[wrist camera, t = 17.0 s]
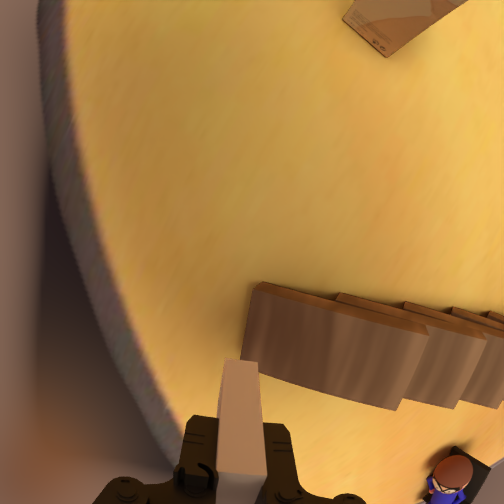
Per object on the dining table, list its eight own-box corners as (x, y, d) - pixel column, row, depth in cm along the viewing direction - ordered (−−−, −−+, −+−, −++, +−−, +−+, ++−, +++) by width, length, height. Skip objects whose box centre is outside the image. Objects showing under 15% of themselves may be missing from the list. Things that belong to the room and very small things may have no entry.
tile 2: (314, 372, 21) (453, 409, 17) (335, 299, 19) (487, 340, 15) (320, 360, 22) (450, 396, 18) (340, 292, 21) (481, 330, 17)
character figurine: (411, 502, 30) (427, 448, 27) (453, 485, 30) (476, 427, 26) (423, 539, 23) (448, 495, 19) (468, 520, 22) (502, 467, 19)
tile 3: (378, 374, 21) (496, 409, 16) (404, 307, 20) (529, 346, 15) (382, 364, 23) (494, 397, 18) (405, 301, 21) (523, 337, 16)
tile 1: (238, 365, 20) (395, 411, 17) (252, 288, 19) (429, 336, 15) (248, 353, 22) (395, 396, 18) (262, 281, 21) (425, 324, 17)
